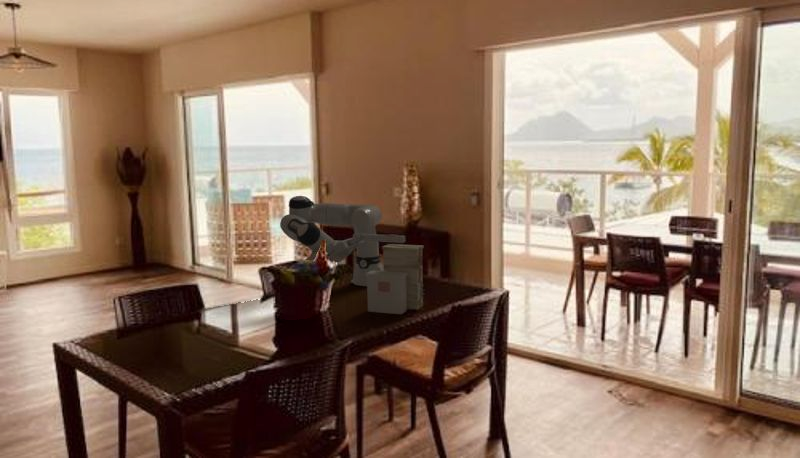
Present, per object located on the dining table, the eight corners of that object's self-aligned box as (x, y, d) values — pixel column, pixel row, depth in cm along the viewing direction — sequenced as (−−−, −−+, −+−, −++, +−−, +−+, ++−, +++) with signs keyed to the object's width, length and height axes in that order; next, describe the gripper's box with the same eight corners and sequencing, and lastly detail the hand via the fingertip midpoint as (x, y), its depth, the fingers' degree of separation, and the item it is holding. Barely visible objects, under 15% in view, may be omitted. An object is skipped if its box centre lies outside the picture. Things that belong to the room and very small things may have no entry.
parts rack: (372, 307, 257) (371, 270, 255) (408, 310, 252) (407, 272, 249) (366, 311, 251) (365, 273, 248) (402, 314, 245) (401, 276, 243)
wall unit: (389, 302, 264) (388, 244, 261) (424, 305, 259) (423, 245, 256) (382, 307, 257) (381, 246, 254) (418, 310, 252) (417, 248, 248)
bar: (352, 240, 250) (352, 233, 250) (356, 239, 253) (355, 232, 253) (402, 243, 243) (402, 236, 243) (405, 241, 246) (405, 235, 245)
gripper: (322, 248, 246) (348, 232, 241) (343, 241, 265) (368, 226, 260) (329, 262, 246) (355, 246, 241) (350, 253, 265) (375, 239, 260)
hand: (362, 236), depth 250 cm, fingers closed on bar, 3 cm apart
